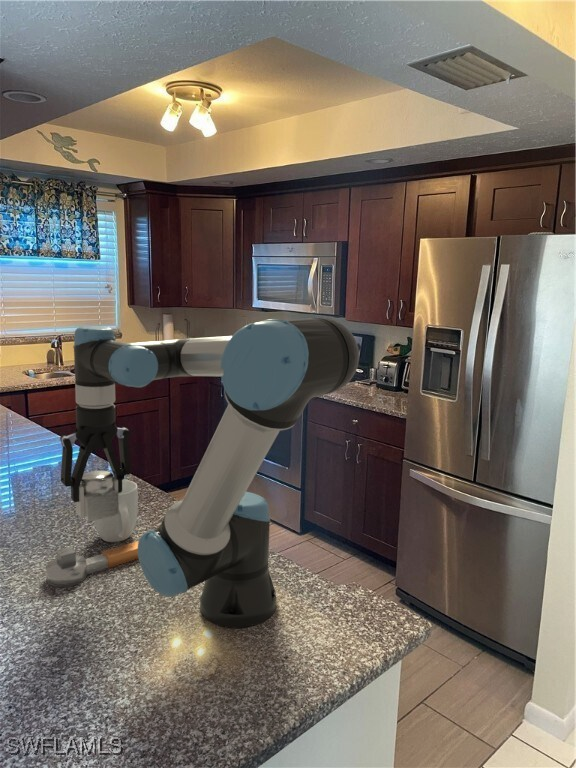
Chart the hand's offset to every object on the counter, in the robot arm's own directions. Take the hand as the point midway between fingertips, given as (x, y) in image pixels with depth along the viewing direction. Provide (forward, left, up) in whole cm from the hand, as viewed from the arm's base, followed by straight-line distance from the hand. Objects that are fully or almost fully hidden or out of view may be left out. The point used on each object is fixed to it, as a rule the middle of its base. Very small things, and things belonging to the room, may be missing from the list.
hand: (97, 511), depth 116 cm
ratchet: (+5, -2, -16) cm, 17 cm away
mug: (+16, -11, -16) cm, 25 cm away
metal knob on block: (0, 0, 0) cm, 0 cm away
